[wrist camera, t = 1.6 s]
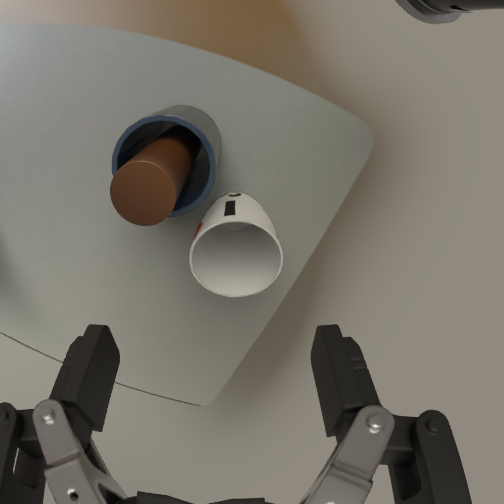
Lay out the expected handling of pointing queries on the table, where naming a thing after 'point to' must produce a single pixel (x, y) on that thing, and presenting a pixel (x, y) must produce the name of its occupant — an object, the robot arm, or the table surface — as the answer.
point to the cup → (236, 247)
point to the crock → (204, 164)
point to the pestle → (155, 177)
